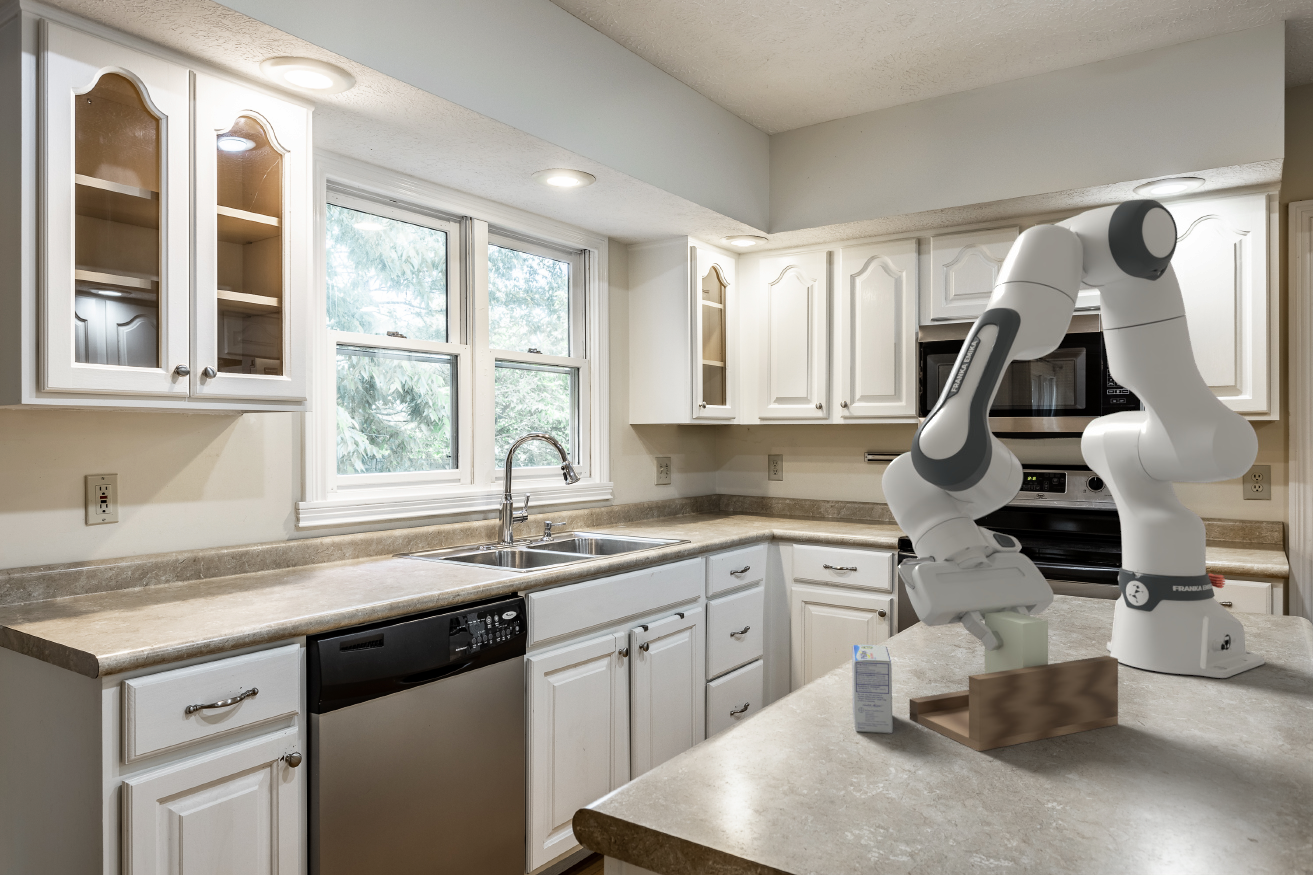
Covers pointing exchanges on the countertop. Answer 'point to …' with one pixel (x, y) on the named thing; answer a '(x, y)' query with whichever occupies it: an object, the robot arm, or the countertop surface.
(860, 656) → the medicine box
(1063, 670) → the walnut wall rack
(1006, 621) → the sage cabinet block
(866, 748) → the countertop surface
